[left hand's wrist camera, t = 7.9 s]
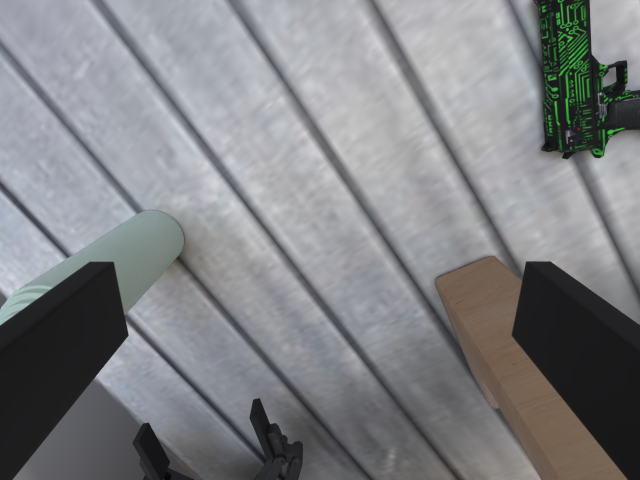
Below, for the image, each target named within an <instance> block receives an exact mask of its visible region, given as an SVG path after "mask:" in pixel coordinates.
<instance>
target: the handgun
mask: <svg viewBox="0 0 640 480" xmlns="http://www.w3.org/2000/svg"><path fill="white" fill-rule="evenodd" d="M533 1H534V2H535V4H536V5H537V6H538V8H539V18H540V28H541V40H542V52H543V65H544V76H545V87H546V97H547V100H546V101H543V108H544V117H545V122H544V130H545V141H546V143H545V144H544V145H543V147H542V148H541V150H542V151H546V152H551V151H557V152H562V153H563V152H564V155H563V157H562V158H564V159H568V158H569V157H570V156H571V155H572V154H574V153H576V152H577V151H585V150H589V151H590V152H591V153H592V155H593V156H594V157H596V158H601V157H603V156H604V151H605V146H606V144H607V142H608V140H609V138H610V137H611V136H613V135H615V134H617V133H618V132H620V131H622V130H640V90H637V91H630V90H625V88H626V85H627V61H626V60H625V61H618V62H616V63H614V64H611V65H608V66H606V65H603V64H600V63H599V62H598V61H597V60H596V59H595V58H594V56H593V55H592V54H591V28H590V1H589V0H533ZM613 67H616V78H617V82H615V83H614V84H612V85H610V86H607V87H604V88H603V80H602V78H603V77H604V76H605V75H606V74H607V73H608V72H609V71H608V69H610V68H613ZM611 90H612V91H611ZM624 90H625V91H624ZM604 93H605V94H604Z"/></svg>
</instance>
